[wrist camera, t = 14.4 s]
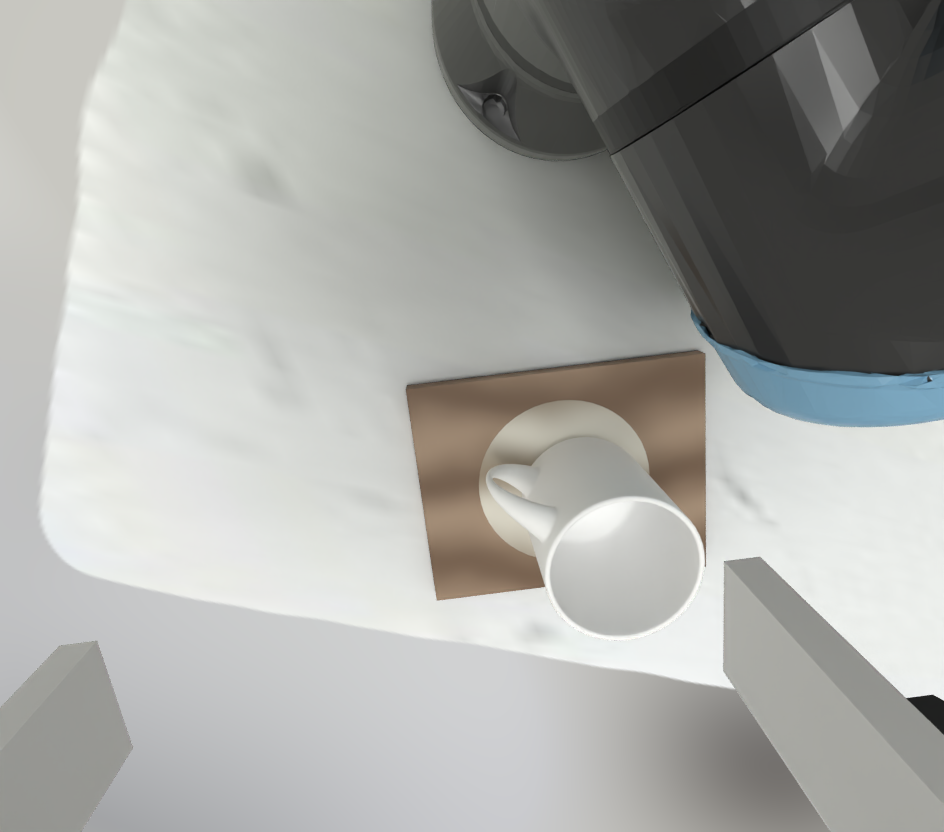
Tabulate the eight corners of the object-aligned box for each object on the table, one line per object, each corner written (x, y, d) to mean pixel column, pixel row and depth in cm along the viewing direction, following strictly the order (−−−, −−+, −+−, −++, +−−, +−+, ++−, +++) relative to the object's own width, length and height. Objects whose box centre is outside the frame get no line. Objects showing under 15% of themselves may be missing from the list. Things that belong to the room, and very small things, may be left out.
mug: (508, 393, 39) (533, 444, 29) (662, 462, 41) (736, 533, 31) (454, 502, 41) (459, 586, 31) (604, 563, 43) (655, 662, 33)
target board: (406, 385, 40) (405, 389, 39) (697, 350, 41) (705, 353, 39) (436, 591, 45) (436, 600, 43) (699, 558, 45) (706, 566, 44)
